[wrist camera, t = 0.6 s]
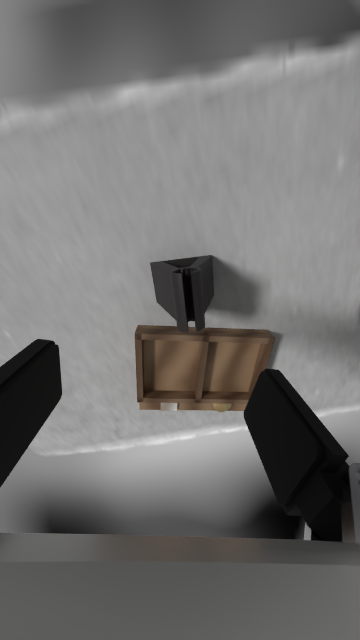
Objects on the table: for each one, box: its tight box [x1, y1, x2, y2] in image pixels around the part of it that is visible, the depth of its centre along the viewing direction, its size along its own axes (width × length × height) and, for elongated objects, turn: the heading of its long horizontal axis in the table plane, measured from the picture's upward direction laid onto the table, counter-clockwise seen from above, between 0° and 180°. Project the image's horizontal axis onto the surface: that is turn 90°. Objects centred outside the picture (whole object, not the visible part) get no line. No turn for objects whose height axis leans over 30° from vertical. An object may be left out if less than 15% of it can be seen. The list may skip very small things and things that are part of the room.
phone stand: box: [150, 255, 214, 333], centre depth 24 cm, size 9×6×12 cm, turn 96°
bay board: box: [135, 325, 275, 412], centre depth 35 cm, size 22×18×3 cm
